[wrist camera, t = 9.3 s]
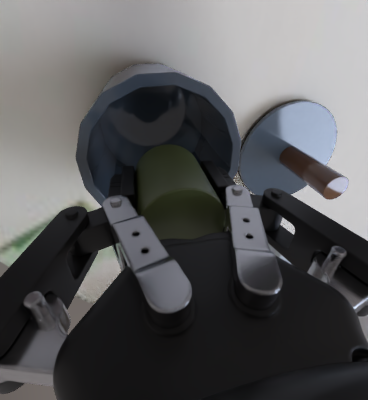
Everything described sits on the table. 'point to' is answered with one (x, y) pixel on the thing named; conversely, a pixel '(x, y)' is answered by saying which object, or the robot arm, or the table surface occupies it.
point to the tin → (176, 195)
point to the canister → (153, 124)
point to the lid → (292, 151)
